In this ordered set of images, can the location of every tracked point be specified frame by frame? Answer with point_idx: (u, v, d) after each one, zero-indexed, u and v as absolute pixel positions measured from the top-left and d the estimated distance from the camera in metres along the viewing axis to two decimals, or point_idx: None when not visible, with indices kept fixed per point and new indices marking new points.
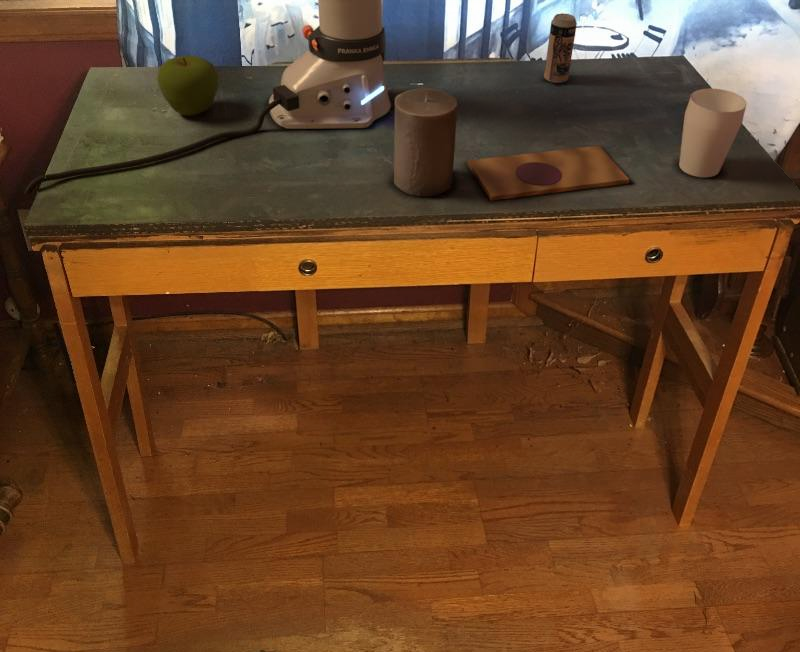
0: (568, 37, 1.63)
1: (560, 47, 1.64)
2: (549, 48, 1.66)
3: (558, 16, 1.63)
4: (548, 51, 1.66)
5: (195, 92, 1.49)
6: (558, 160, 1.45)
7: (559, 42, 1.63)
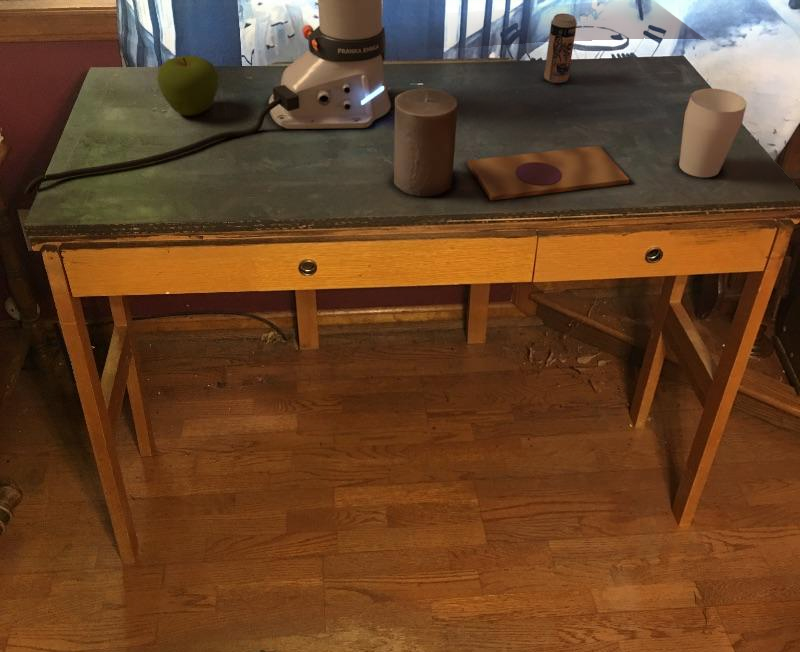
0: (568, 37, 1.63)
1: (560, 47, 1.64)
2: (549, 48, 1.66)
3: (558, 16, 1.63)
4: (548, 51, 1.66)
5: (195, 92, 1.49)
6: (558, 160, 1.45)
7: (559, 42, 1.63)
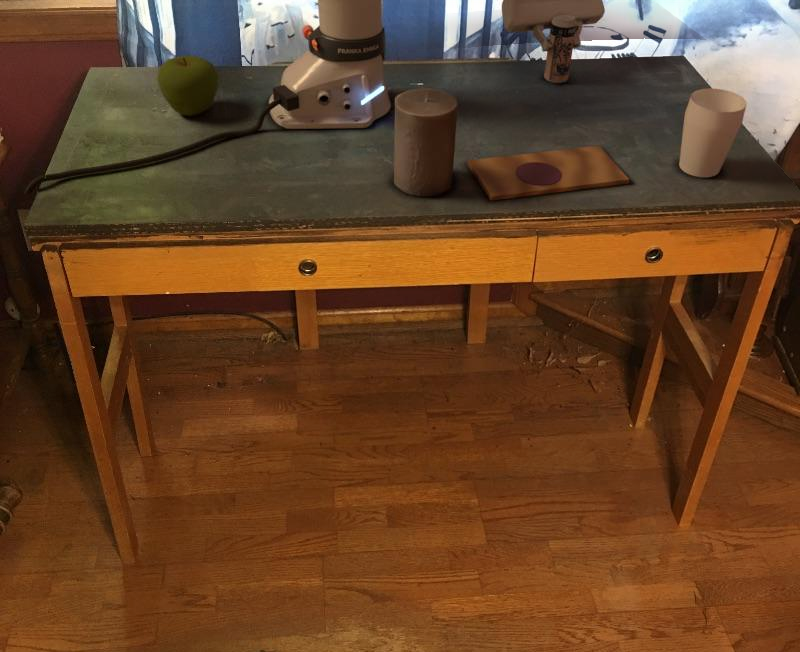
0: (568, 37, 1.63)
1: (560, 47, 1.64)
2: None
3: (558, 16, 1.63)
4: (548, 51, 1.66)
5: (195, 92, 1.49)
6: (558, 160, 1.45)
7: (559, 42, 1.63)
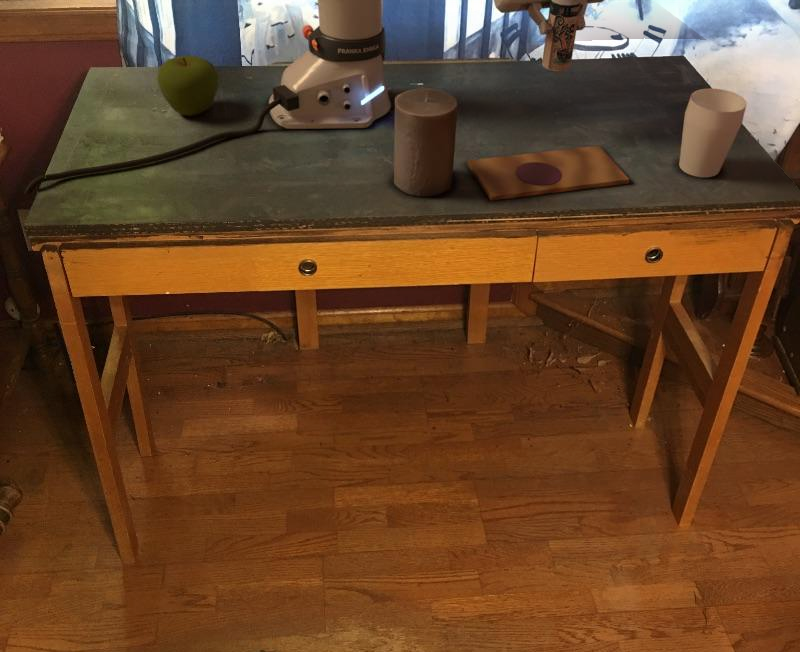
0: (571, 17, 1.37)
1: (561, 29, 1.38)
2: None
3: None
4: (547, 34, 1.40)
5: (195, 92, 1.49)
6: (558, 160, 1.45)
7: (560, 23, 1.37)
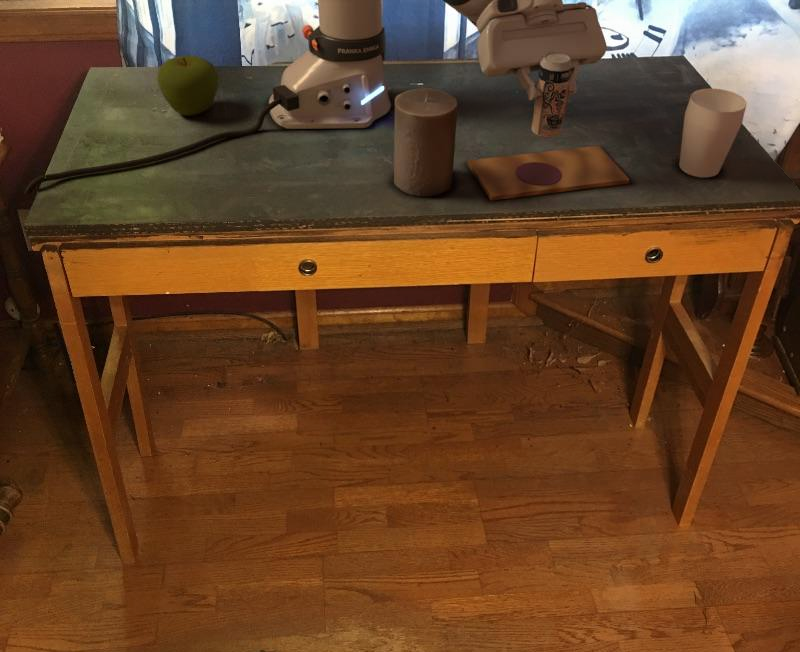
0: (561, 83, 1.29)
1: (551, 95, 1.30)
2: None
3: (549, 56, 1.29)
4: (536, 99, 1.32)
5: (195, 92, 1.49)
6: (558, 160, 1.45)
7: (550, 89, 1.29)
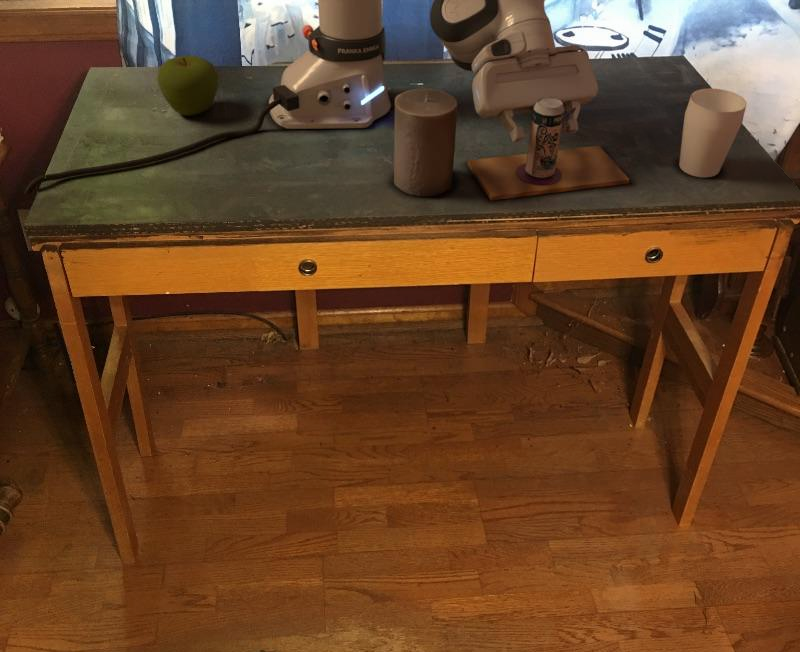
0: (554, 126, 1.33)
1: (544, 138, 1.35)
2: (531, 138, 1.36)
3: (542, 101, 1.34)
4: (530, 141, 1.37)
5: (195, 92, 1.49)
6: (558, 160, 1.45)
7: (543, 132, 1.34)
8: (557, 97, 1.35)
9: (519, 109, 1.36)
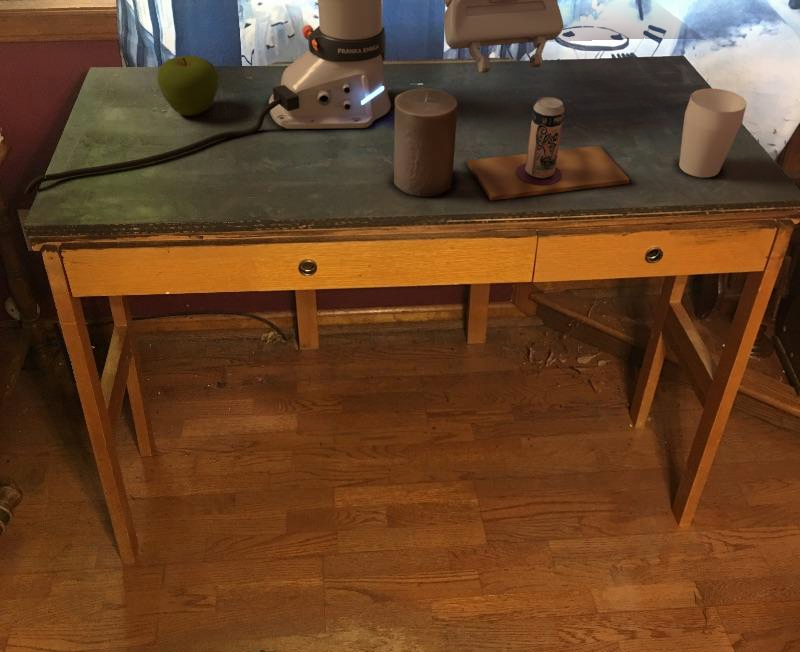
0: (554, 126, 1.33)
1: (544, 138, 1.35)
2: (531, 138, 1.36)
3: (542, 101, 1.34)
4: (530, 141, 1.37)
5: (195, 92, 1.49)
6: (558, 160, 1.45)
7: (543, 132, 1.34)
8: (523, 31, 1.42)
9: (487, 42, 1.44)
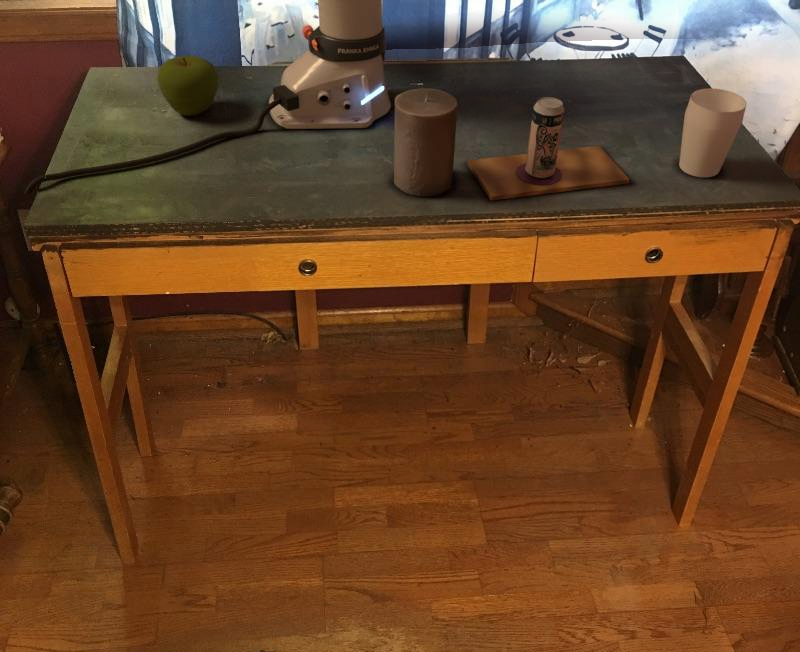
0: (554, 126, 1.33)
1: (544, 138, 1.35)
2: (531, 138, 1.36)
3: (542, 101, 1.34)
4: (530, 141, 1.37)
5: (195, 92, 1.49)
6: (558, 160, 1.45)
7: (543, 132, 1.34)
8: None
9: None
